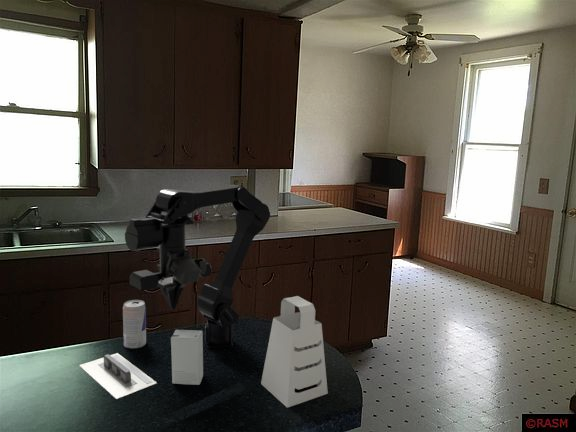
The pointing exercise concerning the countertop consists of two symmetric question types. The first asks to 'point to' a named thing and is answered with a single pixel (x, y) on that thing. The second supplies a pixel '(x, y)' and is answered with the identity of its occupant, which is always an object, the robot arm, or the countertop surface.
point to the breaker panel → (117, 377)
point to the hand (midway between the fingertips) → (172, 309)
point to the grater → (295, 354)
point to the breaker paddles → (117, 368)
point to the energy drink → (134, 323)
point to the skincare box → (187, 357)
